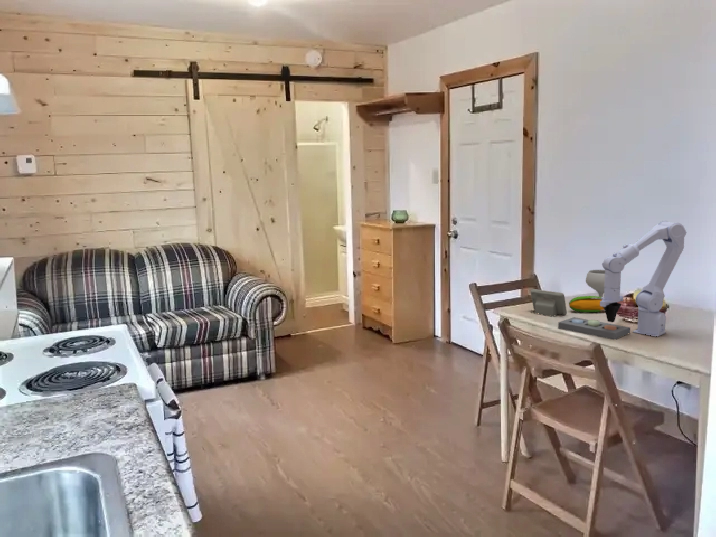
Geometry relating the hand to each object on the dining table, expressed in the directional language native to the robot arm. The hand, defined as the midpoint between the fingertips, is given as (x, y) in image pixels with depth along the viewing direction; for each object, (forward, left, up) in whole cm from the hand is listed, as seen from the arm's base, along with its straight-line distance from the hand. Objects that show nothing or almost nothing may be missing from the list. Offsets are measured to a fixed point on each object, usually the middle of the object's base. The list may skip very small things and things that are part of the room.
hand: (610, 321), depth 242 cm
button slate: (+14, 0, -4) cm, 15 cm away
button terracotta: (0, 0, -4) cm, 4 cm away
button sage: (+7, 0, -4) cm, 8 cm away
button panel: (+7, 0, -5) cm, 9 cm away
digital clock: (+36, -13, -5) cm, 39 cm away
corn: (+24, -29, -5) cm, 38 cm away
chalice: (+30, -49, -5) cm, 58 cm away
